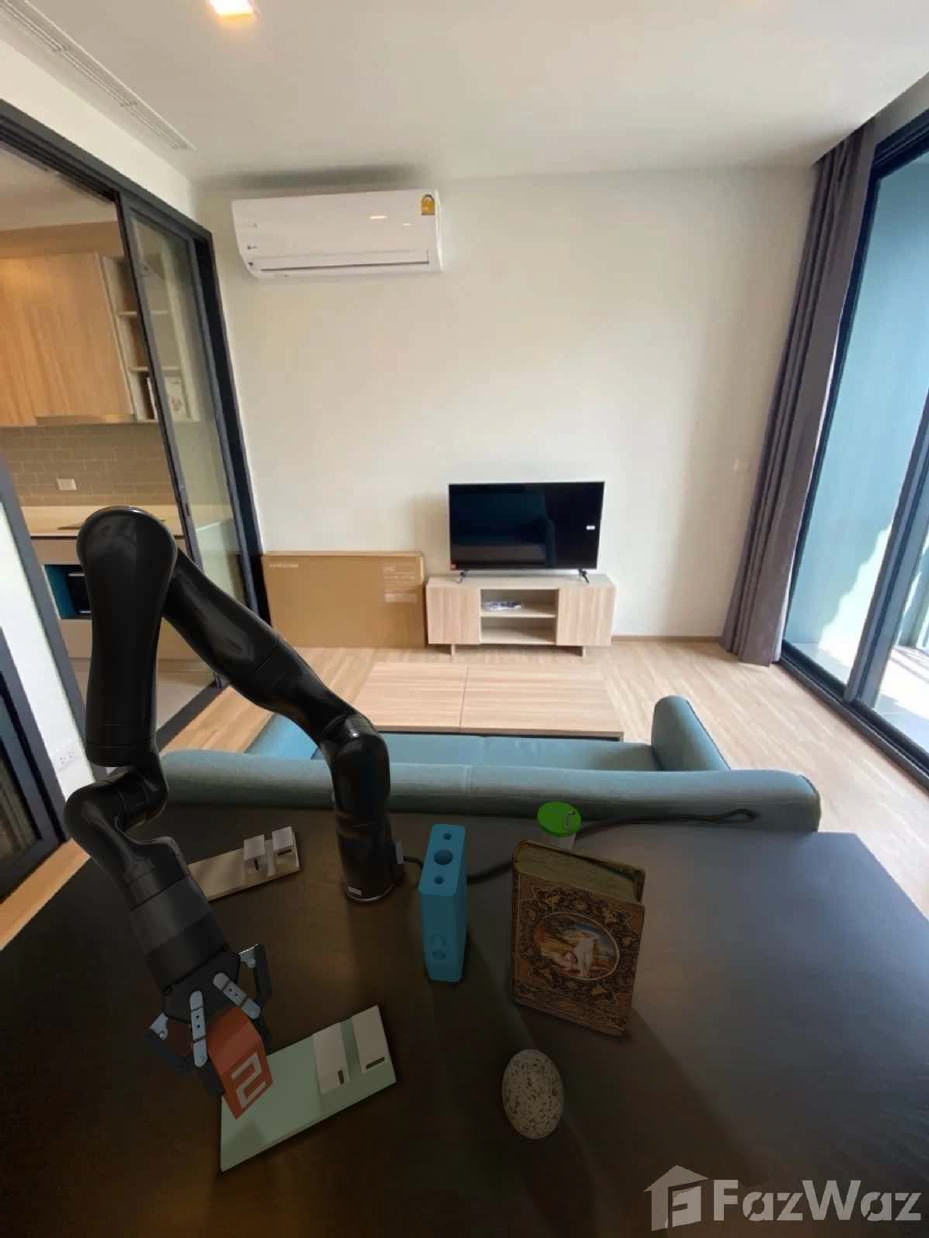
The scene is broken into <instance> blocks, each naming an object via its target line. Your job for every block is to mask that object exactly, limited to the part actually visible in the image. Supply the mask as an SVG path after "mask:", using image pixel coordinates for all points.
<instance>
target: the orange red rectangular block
mask: <svg viewBox="0 0 929 1238" xmlns="http://www.w3.org/2000/svg"><path fill="white" fill-rule="evenodd" d="M205 1030H206V1047H207V1057H209V1058H210V1059H211V1060H212V1062H213V1065H214V1067H215V1069H216V1071H217V1073H218V1076H219V1078H220V1080H221V1082H222V1084H223V1086H224V1089H225V1091H226V1093H225V1094H224V1095H223V1098H224V1099H225V1101H226V1103H227V1105H228V1107H229V1109H230V1111H231V1112H232V1114H233V1116H234V1118H235V1120H237V1119H238V1118H239V1117H240V1116H241V1115H242V1114H243V1113H244V1112H245V1111H246V1110H247V1109H248V1108H249V1107H250V1106H251V1105H252V1104H253V1103H254V1102H255V1101H256V1100H257V1099H258V1098H259V1097H260V1096H261V1095H262V1094H263V1093H264V1092H265V1091H266V1090H267V1089H268V1088H269V1087H270V1086H271V1085H272V1084H273V1079H272V1075H271V1071H270V1068H269V1064H268V1060H267V1057H266V1056H267V1054H266V1053H265V1049H264V1046H263V1042H262V1038H261V1037H260V1035H259V1034H258V1032H257V1030H256V1029H255V1027H254V1026H253V1024H252V1023H251V1021H250V1020H249V1018H248V1017H247V1015H246V1014H245V1013H244V1012H243V1011H242V1010H241V1009H240V1008H239V1007H237V1006H234V1005H233V1007H232V1008H231V1009H230V1010H228V1011H227V1012H226V1013H225V1014H223V1015H222V1016H221V1017H220V1018H219V1019H218V1020H217V1021H215V1022H214V1023H212V1025H211V1026H209V1027H208V1028H207V1029H205Z"/></svg>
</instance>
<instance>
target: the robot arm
mask: <svg viewBox="0 0 929 1238" xmlns="http://www.w3.org/2000/svg"><path fill="white" fill-rule="evenodd" d="M75 551H76V556H77V559H78V561H79V563H80V566H81V567H82V572H83V576H84V581H85V586H86V592H87V596H88V602H89V607H90V608H89V610H90V620H91V651H90V652H91V653H90V662H89V671H88V679H87V686H86V698H85V717H84V718H85V719H84V720H85V721H84V753H85V757H86V759H87V760H88V762H89V763H91V764H92V765H94V766H97V767H101V768H123V767H125V768H124V771H123V772H119V773H117V774H115V775H112V776H109V777H106V778H103V779H100V780H98V781H94V782H92V783H89V784H86V785H83V786H81V787H79V788H77V789H76V790H74V791H73V792H72V793H71V794H70V795H69V796H68V798H67V799H66V802H65V803H64V806H63V811H62V812H63V813H62V815H63V816H62V817H63V819H62V820H63V824H64V828H65V829H66V831H67V834H68V835H69V836H70V837H71V839H72V840H73V841H74V842H75V844H77V846H79V847H80V848H81V849H82V850H83V851H84V852H85V853H86V854H87V855H88V856H89V857H90V858H91V859H92V860H93V861H94V862H95V863H96V864H97V865H98V867H99V868H100V869H101V870H102V871H103V872H104V874H105V875H106V876H107V877H108V878H109V879H110V881H111V883H112V884H113V886H114V887H115V889H116V892H117V893H118V896H119V898H120V901H121V902H122V905H123V908H124V909H125V911H126V912H125V913H127V917H128V919H129V923H130V926H131V929H132V933H133V936H134V939H135V941H136V943H137V949H138V950H139V951H140V952H141V954H142V956H143V958H144V960H145V962H146V965H147V967H148V969H149V971H150V974H151V976H152V978H153V980H154V982H155V985H156V987H157V989H158V991H159V994H160V996H161V1012H160V1014H159V1015H158V1016H157V1017H156V1018H155V1019H154V1020H153V1022H151V1024H149V1026H148V1027H146V1028H144V1029H143V1030H142V1031H141V1032H140V1035H139V1039H140V1042H141V1043H142V1044H143V1046H145V1047H146V1048H147V1049H148V1050H149V1052H151V1053H152V1054H153V1055H154V1056H155V1057H156V1058H157V1059H158V1060H159V1061H160V1062H161V1063H162V1064H163V1065H164V1066H165V1067H166V1068H167V1069H169V1070H170V1071H171V1073H173V1074H174V1075H175V1076H176V1077H181V1076H183V1075H184V1074H185V1073H188V1072H191V1071H193V1070H195V1071H196V1072H197V1075H198V1076H199V1079H200V1081H201V1083H202V1085H203V1087H204V1090H205V1092H206V1093H207V1094H208V1095H209V1096H210V1097H211V1098H214V1097H215V1096H216V1095H217V1097H218V1098H219V1099H222V1096H223V1095H224V1094H225V1093H226V1091H225V1089H224V1086H223V1084H222V1082H221V1080H220V1078H219V1076H218V1073H217V1071H216V1069H215V1067H214V1065H213V1062H212V1060H211V1059H210V1058H209V1057H207V1047H206V1030H207V1029H206V1023H208V1021H210V1020H211V1019H212V1018H213V1017H214V1015H215V1014H216V1013H217V1012H218V1011H219V1010H221V1009H223V1008H225V1007H227V1006H228V1005H229V1004H231V1005H232V1006H233V1007H234V1006H237V1007H239V1008H240V1009H241V1010H242V1011H243V1012H244V1013H245V1014H246V1015H247V1017H248V1018H249V1020H250V1021H251V1023H252V1024H253V1026H254V1027H255V1029H256V1030H257V1032H258V1034H259V1035H260V1037H261V1038H262V1042H263V1046H264V1049H265V1053H266V1055H268V1054H269V1052H271V1050H272V1049H271V1046H270V1044H271V1043H273V1035H272V1033H271V1031H270V1028H269V1027H268V1024H267V1022H266V1021H265V1018H264V1017H263V1009H264V1007H265V1006H266V1004H267V1002H268V1001H270V1000H271V998H272V996H273V990H272V983H271V978H270V970H269V966H268V959H267V955H266V954H267V953H266V949H265V946H264V944H262V943H255V944H253V945H251V947H249V948H247V949H245V950H242V951H240V952H239V951H237V950H235V949H234V948H232V947H231V945H230V943H229V941H228V939H227V938H226V935H225V933H224V931H223V929H222V927H221V925H220V923H219V921H218V919H217V917H216V914H215V913H214V910H213V909H212V906H211V904H210V903H209V902H210V901H208V900H207V898H206V896H205V894H204V892H203V890H202V889H201V887H200V886H199V884H198V883H197V882H196V880H195V879H194V877H193V875H192V874H191V871H190V869H189V867H188V865H189V864H188V863H187V861H186V859H185V857H184V855H183V853H182V850H181V849H180V847H179V844H178V843H177V842H176V840H175V839H174V838H172V837H170V836H159V837H156V838H152V839H148V840H141V841H140V840H136V839H135V838H133V837H131V836H129V835H128V834H127V833H128V832H130V831H132V830H134V829H137V828H138V827H141V826H143V825H145V824H147V823H150V822H151V821H154V820H155V819H157V818H158V817H159V816H160V815H161V814H162V813H163V811H164V810H165V808H166V807H167V804H168V801H169V797H170V788H169V784H168V781H167V776H166V774H165V771H164V768H163V765H162V760H161V757H160V752H159V748H158V745H157V739H156V738H157V721H158V693H159V692H158V686H159V684H158V681H159V680H158V678H159V677H158V672H159V671H158V669H159V663H158V662H159V643H160V634H161V627H162V620H165V621H166V622H167V623H168V624H169V625H170V626H171V627H172V628H173V629H174V630H175V631H176V632H177V633H178V635H179V636H180V637H181V638H182V639H183V640H184V641H185V643H186V644H187V645H188V646H189V647H190V649H191V650H192V651H193V652H194V654H196V655H197V657H198V658H200V660H202V662H203V663H204V664H205V665H206V666H207V667H208V668H209V669H210V670H211V671H212V672H213V673H214V674H216V676H218V677H219V678H220V679H221V680H222V681H223V682H224V683H225V684H226V685H228V686H229V687H230V688H231V689H233V690H234V691H235V692H237V693H238V694H239V695H240V696H241V697H243V699H245V700H246V701H248V702H250V703H251V704H253V705H254V706H256V707H258V708H260V709H262V710H264V711H268V712H270V713H272V714H276V715H278V716H281V717H284V718H285V719H287V720H290V721H291V722H292V723H294V725H296V726H297V727H298V728H299V729H300V730H302V731H303V732H304V733H305V735H307V736H308V738H309V739H310V740H311V741H312V742H313V743H314V744H315V746H316V747H317V748H318V750H319V751H320V753H321V755H322V757H323V759H324V761H325V764H326V765H327V767H328V769H329V773H330V778H331V782H332V790H333V792H332V794H331V808H332V816H333V823H334V828H335V836H336V842H337V848H338V855H339V862H340V867H341V873H342V881H343V882H342V883H343V889H344V891H345V894H346V895H347V897H349V898H350V899H351V900H353V901H355V902H358V903H364V904H365V903H372V902H376V901H378V900H381V899H382V898H384V897H386V896H387V895H388V894H389V893H390V892H392V890H393V888H394V887H395V886H397V885H399V884H400V878H401V877H405V876H406V871H405V869H406V867H405V863H413V864H416V865H417V866H418V868H419V869H420V870H421V871H423V866H424V862H423V860H421V859H420V858H418V857H415V856H411V855H410V856H409V855H404V848H403V840H402V841H401V840H400V841H395V838H394V835H393V831H392V823H391V814H390V803H389V796H390V794H391V790H392V781H391V761H390V754H389V748H388V745H387V742H386V740H385V739H384V738H383V736H382V735H381V733H380V731H378V729H377V728H376V726H375V725H374V724H373V722H372V721H371V719H369V718H368V717H367V716H366V715H365V714H364V713H362V712H361V711H359V710H358V709H357V708H356V707H354V706H352V705H351V704H349V703H348V702H347V701H345V700H344V699H343V698H341V697H340V696H338V695H337V694H336V693H335V692H334V691H333V690H331V689H330V688H329V687H328V686H327V685H326V684H325V683H324V682H323V680H322V679H321V678H320V677H319V675H318V674H317V673H316V671H315V670H314V669H313V668H312V667H311V666H310V664H309V663H308V662H307V661H306V660H305V659H304V658H303V656H301V655H300V654H299V652H298V651H296V650H295V648H294V647H293V646H292V645H291V644H290V643H289V642H287V640H286V639H284V638H283V636H281V634H279V633H278V632H277V631H276V630H275V629H274V628H273V627H271V625H270V624H268V623H267V622H266V621H265V620H263V619H262V618H261V617H260V616H258V615H257V614H256V613H255V612H253V611H252V610H251V609H249V608H248V607H247V606H245V605H244V604H243V603H241V601H239V600H237V599H236V598H235V597H234V596H232V595H230V594H229V593H228V592H226V591H225V590H224V589H222V588H221V587H220V586H218V585H217V584H216V583H214V582H213V580H211V579H210V578H209V576H207V575H206V574H205V573H204V571H202V569H201V568H199V566H198V565H197V564H196V562H195V561H193V560H192V559H191V557H190V556H189V555H188V554H187V553H186V552H185V551H184V550H183V548H182V547H181V546H180V545H179V544H178V543H177V541H176V538H175V537H174V534H173V533H172V531H171V529H169V527H168V526H167V525H166V524H165V523H164V522H163V521H162V520H161V519H159V518H158V517H157V516H155V515H154V514H152V513H151V512H149V511H147V510H145V509H142V508H140V507H137V506H131V505H123V504H122V505H118V504H117V505H109V506H105V507H102V508H100V509H97V510H95V511H94V512H92V513H91V514H89V516H87V517H86V518H85V520H84V521H83V522H82V524H81V526H80V528H79V530H78V533H77V537H76V542H75ZM740 814H745V815H746V814H747V815H748V816H750V817H754V816H755V813H754V812H753V811H752V810H750V809H747V808H737V809H733V810H731V811H727V812H723V813H719V814H693V813H682V812H681V813H680V812H653V813H652V812H650V813H640V814H639V813H638V814H630V815H622V816H618V817H612V818H609V819H605V820H600V821H597V822H594V823H591V824H588V825H585V826H582V827H580V828H579V831H577V832H576V835H575V836H578V835H580V834H583V833H585V832H588V831H591V830H594V829H597V828H601V827H603V826H608V825H612V824H616V823H617V824H618V823H622V822H627V821H637V820H646V819H647V820H648V819H688V820H699V821H700V820H701V821H718V820H720V821H721V820H725V819H727V818H731V817H735V816H737V815H740ZM509 866H512V858H510V859H507V860H505V861H503V862H499V863H498V864H496V865H493V866H492V867H490V868H487V869H484V870H482V871H478V872H473V873H466V879H467V881H468V880H476V879H480V878H483V877H487V876H489V875H491V874H494V873H496V872H498V871H500V870H503V869H504V868H507V867H509ZM190 874H191V875H190ZM242 962H243V963H244V964H245V967H246V968H248V969H252V973H253V974H252V975H253V980H254V987H255V993H256V995H255V996H254V997H253V999H251V998H250V997H249V996H248V995H247V993H246V992H244V991H243V990H242V989H241V988H240V987H239V986H238V981H239V977H240V976H239V975H240V969H241V963H242ZM168 1020H172V1021H177V1022H181V1023H184V1024H186V1025H187V1027H188V1037H189V1038H188V1039H189V1044H190V1053H188V1054H187V1055H184V1056H181V1055H180V1054H179V1053H178V1052H177V1051H176V1050H175V1049H174V1048H173V1047H171V1045H169V1044H168V1043H167V1041H165V1040H166V1039H167V1037H168V1035H169V1029H168V1028H167V1021H168Z"/></svg>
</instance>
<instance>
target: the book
mask: <svg viewBox="0 0 929 1238" xmlns="http://www.w3.org/2000/svg"><path fill="white" fill-rule="evenodd" d="M511 859H512V865H511V882H510V883H511V884H510V885H511V886H510V887H511V889H510V934H509V978H508V979H509V980H508V983H509V984H508V988H509V994H510V997H511V999H512V1000H513V1002H516V1003H519V1004H522V1005H524V1006H527V1007H530V1008H533V1009H536V1010H538V1011H541V1012H544V1013H546V1014H547V1013H548V1014H551V1015H553V1016H555V1017H559V1018H562V1019H565V1020H567V1021H569V1022H573V1023H576V1024H578V1025H582V1026H585V1027H588V1028H589V1029H593V1030H596V1031H599V1032H602V1033H605V1034H608V1035H611V1036H614V1037H617V1038H623V1037H625V1036H626V1033H627V1031H628V1026H629V1020H630V1013H631V1006H632V1000H633V994H634V988H635V980H636V975H637V968H638V963H639V962H638V961H639V957H640V956H639V955H640V949H641V942H642V937H643V930H644V925H645V916H646V907H645V905H644V904H643V896H644V889H645V882H646V870H645V869H644V868H643V867H642V866H637V865H633V864H629V863H625V862H620V861H616V860H613V859H609V858H605V857H601V856H598V855H597V856H596V855H593V854H589V853H586V852H585V853H584V852H581V851H577V850H573V849H572V850H569V849H565V848H561V847H557V846H553V845H549V844H545V843H542V842H540V841H537V840H532V839H524V840H522V841H520V842H518V843H517V844H516V845H515V847H514V849H513V851H512V855H511Z"/></svg>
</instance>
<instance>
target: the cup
mask: <svg viewBox="0 0 929 1238" xmlns="http://www.w3.org/2000/svg"><path fill="white" fill-rule="evenodd" d="M536 821H537V823H538V825H539V830H540V831H539V832H540V839H541V843H545V844H549V845H553V846H557V847H561V848H565V849H569V850H573V846H574V842H575V839H576V836H577V835H576V832H577V831H579V829H580V828H581V822H582V816H581V814H580V813H579V811H578V809H577V808H575V807H574V806H573V805H571V804H569V803H566V802H562V801H558V800H556V801H549V802H546V803H544V804H543V805H541V806H540V807H539V809H538V811H537V815H536Z"/></svg>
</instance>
